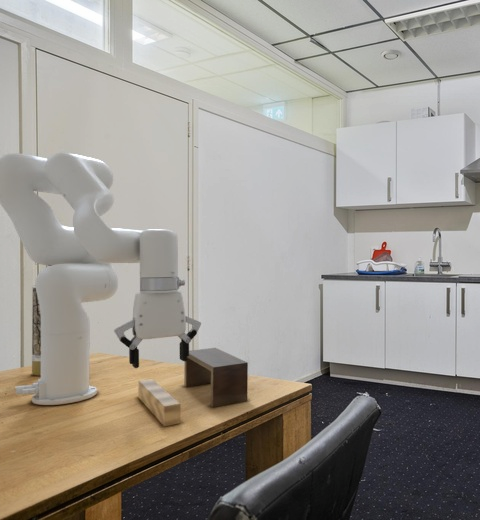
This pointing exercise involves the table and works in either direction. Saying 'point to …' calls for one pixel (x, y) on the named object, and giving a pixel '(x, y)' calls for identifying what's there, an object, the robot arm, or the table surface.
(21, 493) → the table surface
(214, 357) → the dark brown channel bracket
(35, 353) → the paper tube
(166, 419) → the stick
